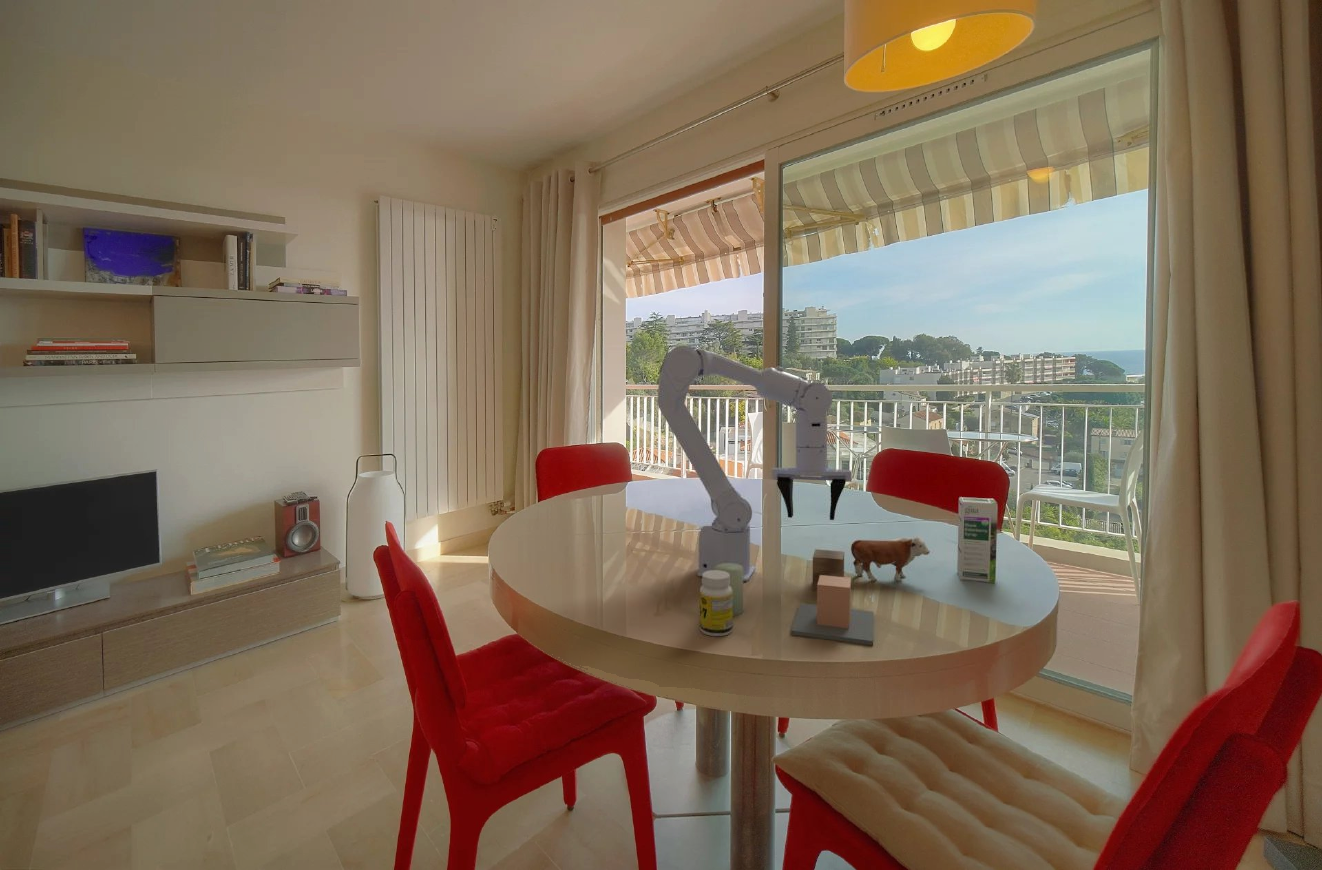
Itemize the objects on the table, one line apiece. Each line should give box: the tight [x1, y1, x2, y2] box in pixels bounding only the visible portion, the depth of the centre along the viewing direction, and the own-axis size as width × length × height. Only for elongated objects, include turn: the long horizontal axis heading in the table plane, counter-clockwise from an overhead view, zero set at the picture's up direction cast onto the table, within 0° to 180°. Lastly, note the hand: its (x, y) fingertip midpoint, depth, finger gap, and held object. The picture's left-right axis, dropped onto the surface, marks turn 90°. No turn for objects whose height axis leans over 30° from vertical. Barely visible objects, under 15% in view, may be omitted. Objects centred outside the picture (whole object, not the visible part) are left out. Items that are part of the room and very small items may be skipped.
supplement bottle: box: [699, 570, 734, 637], centre depth 85 cm, size 5×5×8 cm
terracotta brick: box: [816, 575, 852, 628], centre depth 86 cm, size 4×4×6 cm
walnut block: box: [811, 549, 845, 592], centre depth 102 cm, size 5×5×6 cm
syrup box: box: [956, 496, 999, 584], centre depth 107 cm, size 6×6×14 cm
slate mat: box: [790, 603, 874, 646], centre depth 86 cm, size 11×11×1 cm
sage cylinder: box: [715, 563, 744, 617], centre depth 92 cm, size 4×4×7 cm
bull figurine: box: [850, 536, 931, 582], centre depth 106 cm, size 4×13×8 cm, turn 78°
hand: (811, 517), depth 111 cm, fingers open, 7 cm apart
